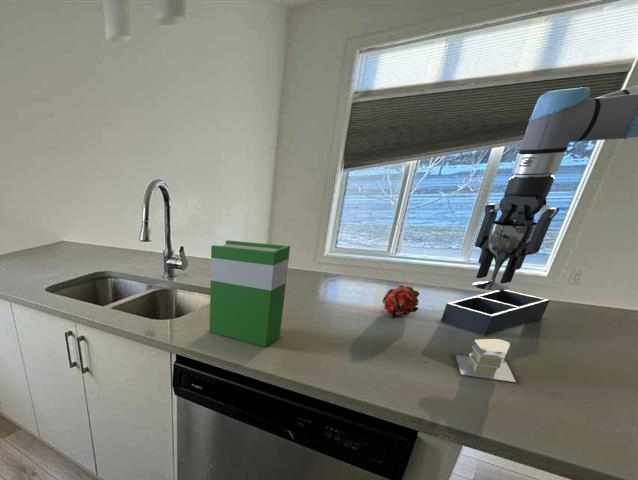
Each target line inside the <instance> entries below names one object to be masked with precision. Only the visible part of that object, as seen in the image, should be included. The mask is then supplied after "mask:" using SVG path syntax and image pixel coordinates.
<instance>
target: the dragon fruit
mask: <svg viewBox="0 0 638 480" xmlns="http://www.w3.org/2000/svg"><path fill="white" fill-rule="evenodd" d="M419 296H420V292H419V290H414V288H413V287H412V286H410V285H407V286H405V285H398V286H396V287H395V288H391V289H389V290H388V291H386V294H385V295H384V297H383V298H382V304H384V307H383V308H384V310H386V312H387V315H388V316H390V317H397V316H407V315H409V314H411V313H415V312H417V311H418V310H419V307H418V306H419V302H420V301H419V299H418V297H419Z"/></svg>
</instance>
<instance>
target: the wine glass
mask: <svg viewBox="0 0 638 480" xmlns="http://www.w3.org/2000/svg"><path fill="white" fill-rule="evenodd" d="M497 221H498V220H495V221H494V222H493V223H492V226H491V228H490V232H489V236H488V249H489V250H490V252H491V254H492V255H493V257H494V258H493V260H494V262H495V263H494V269H493V273H492V274H491V278H490V280H489V281H477V282H474V283H472V287H474V288H476V289H480V290H484V291H492V292H493V291H502V290H509V289H510V287H509V286H508V285H507V284H505V283H504V284H502V283H500V282H496V278H497V276H498V273H499V271H500V270H501V267H502V266H503V265H504V263H505V262H506V261H508V260H509V258H510V256H512V255H513V254H515V252H516V250H517V249H518V248H519V247H520V245H521V244H522V242H524V243H527V242H528V241H529V240H530V239H531V237H532V234H533V232H534V230H535V227H536V225H537V222H536V221H534V222H533V223H532V226H518V225H517V221H516V220H513V221H512V222H511V223H509V225H508V226H505V225H497V223H498V222H497Z"/></svg>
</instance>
